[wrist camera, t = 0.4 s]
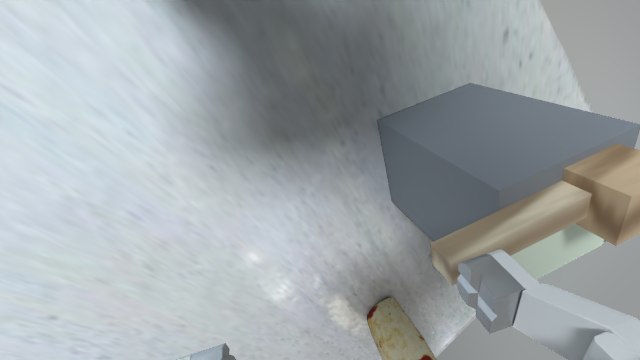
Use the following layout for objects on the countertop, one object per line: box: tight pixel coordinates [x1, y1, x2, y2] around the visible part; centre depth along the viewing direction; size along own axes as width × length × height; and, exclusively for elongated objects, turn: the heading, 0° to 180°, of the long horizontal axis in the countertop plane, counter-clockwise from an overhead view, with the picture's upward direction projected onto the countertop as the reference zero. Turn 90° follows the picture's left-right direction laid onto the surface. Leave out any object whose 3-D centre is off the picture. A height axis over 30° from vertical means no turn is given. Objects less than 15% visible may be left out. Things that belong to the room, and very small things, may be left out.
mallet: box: [430, 144, 640, 285], centre depth 31 cm, size 6×23×6 cm, turn 106°
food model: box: [367, 297, 436, 360], centre depth 65 cm, size 10×7×20 cm
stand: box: [377, 83, 640, 279], centre depth 47 cm, size 17×18×25 cm
